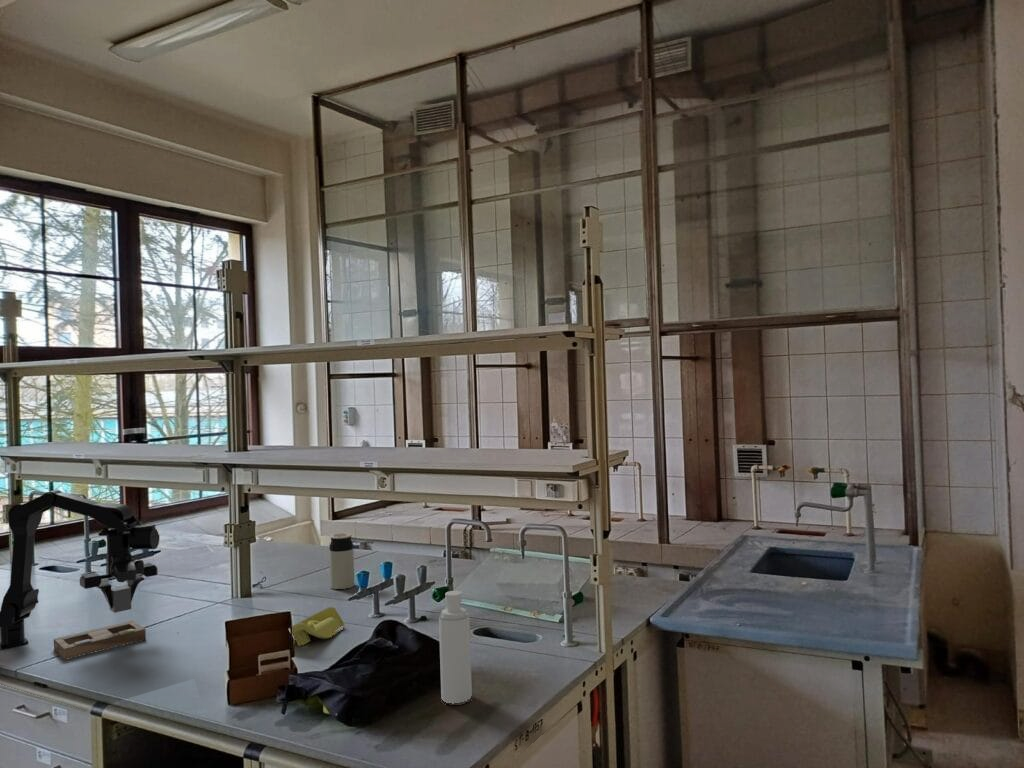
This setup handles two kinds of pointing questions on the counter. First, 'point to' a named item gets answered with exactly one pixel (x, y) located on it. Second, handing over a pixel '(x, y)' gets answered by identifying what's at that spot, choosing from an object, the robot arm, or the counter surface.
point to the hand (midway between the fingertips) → (120, 605)
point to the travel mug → (341, 561)
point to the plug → (121, 598)
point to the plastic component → (318, 626)
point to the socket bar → (99, 639)
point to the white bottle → (455, 650)
